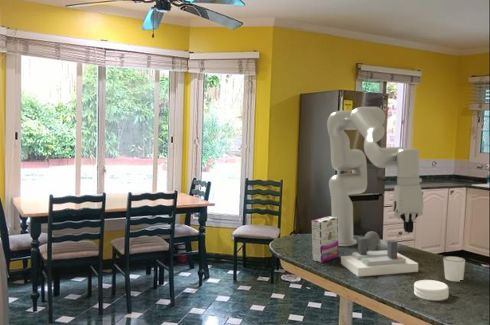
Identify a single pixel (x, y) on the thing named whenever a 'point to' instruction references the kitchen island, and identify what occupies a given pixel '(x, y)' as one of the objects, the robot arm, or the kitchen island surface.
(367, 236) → the light bulb
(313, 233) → the candy bar box
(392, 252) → the handle
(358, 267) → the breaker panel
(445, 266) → the light grey cup
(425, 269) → the kitchen island surface
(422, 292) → the white ribbed round piece
